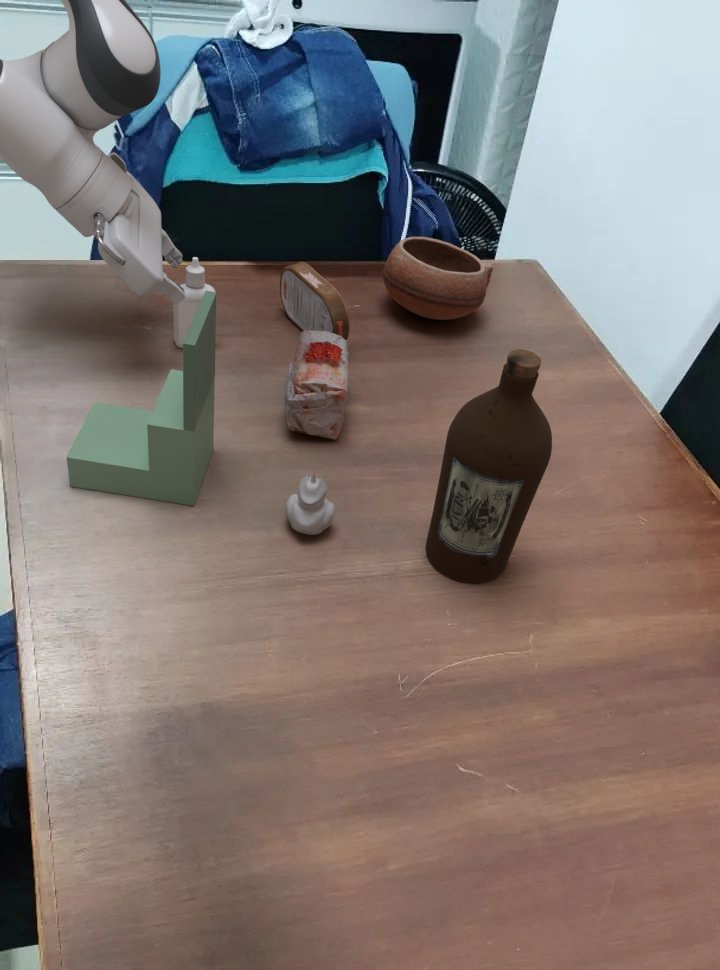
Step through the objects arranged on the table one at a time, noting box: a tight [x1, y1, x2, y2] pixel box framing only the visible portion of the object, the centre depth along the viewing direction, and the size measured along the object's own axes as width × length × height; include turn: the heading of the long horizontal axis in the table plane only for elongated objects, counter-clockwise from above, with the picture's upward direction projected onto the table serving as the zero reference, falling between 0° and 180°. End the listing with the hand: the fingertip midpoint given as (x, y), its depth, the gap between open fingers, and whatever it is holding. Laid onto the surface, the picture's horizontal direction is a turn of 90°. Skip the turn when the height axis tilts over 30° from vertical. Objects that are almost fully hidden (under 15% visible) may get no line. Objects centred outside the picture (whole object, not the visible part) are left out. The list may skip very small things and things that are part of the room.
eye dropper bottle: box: [172, 256, 218, 349], centre depth 121 cm, size 4×6×12 cm
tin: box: [279, 261, 351, 341], centre depth 129 cm, size 15×3×8 cm, turn 34°
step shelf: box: [66, 291, 218, 507], centre depth 99 cm, size 14×11×20 cm
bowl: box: [382, 236, 494, 321], centre depth 137 cm, size 16×16×10 cm
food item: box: [284, 330, 350, 441], centre depth 115 cm, size 14×8×10 cm, turn 1°
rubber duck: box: [285, 472, 336, 536], centre depth 100 cm, size 5×7×8 cm
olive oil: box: [425, 348, 553, 584], centre depth 94 cm, size 11×11×25 cm
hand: (180, 280), depth 119 cm, fingers open, 8 cm apart
